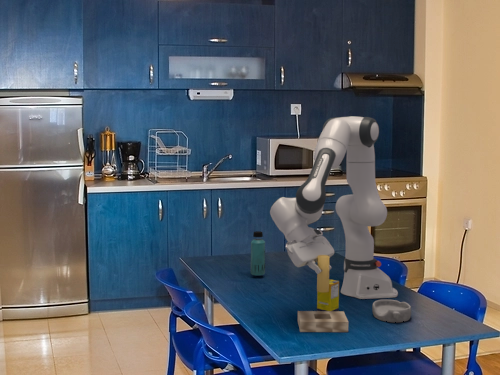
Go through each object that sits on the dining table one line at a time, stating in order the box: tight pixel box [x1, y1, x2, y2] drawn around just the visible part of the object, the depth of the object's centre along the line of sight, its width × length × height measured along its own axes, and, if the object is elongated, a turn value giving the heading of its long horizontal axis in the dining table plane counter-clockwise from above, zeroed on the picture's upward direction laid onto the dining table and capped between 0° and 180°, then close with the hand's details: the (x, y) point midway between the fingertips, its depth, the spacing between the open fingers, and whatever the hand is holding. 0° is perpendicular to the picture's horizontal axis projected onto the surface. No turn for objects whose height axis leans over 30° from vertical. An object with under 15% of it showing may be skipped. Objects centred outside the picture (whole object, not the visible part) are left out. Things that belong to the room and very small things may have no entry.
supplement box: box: [316, 278, 340, 311], centre depth 263 cm, size 6×6×11 cm
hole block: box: [297, 310, 349, 333], centre depth 245 cm, size 16×12×4 cm
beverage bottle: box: [250, 230, 266, 276], centre depth 311 cm, size 6×7×20 cm
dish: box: [371, 299, 412, 323], centre depth 256 cm, size 14×14×5 cm
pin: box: [316, 255, 331, 292], centre depth 243 cm, size 4×4×12 cm
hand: (324, 271), depth 242 cm, fingers closed on pin, 4 cm apart
